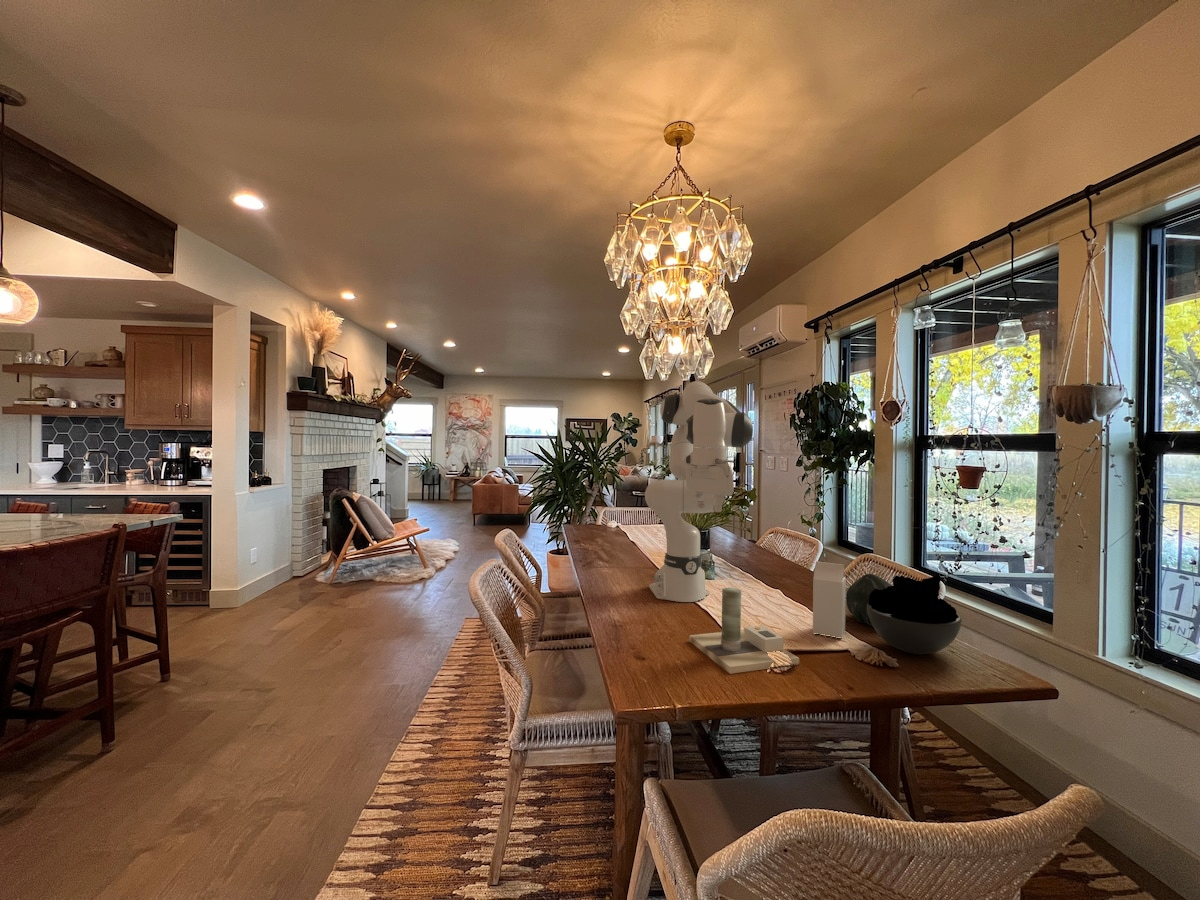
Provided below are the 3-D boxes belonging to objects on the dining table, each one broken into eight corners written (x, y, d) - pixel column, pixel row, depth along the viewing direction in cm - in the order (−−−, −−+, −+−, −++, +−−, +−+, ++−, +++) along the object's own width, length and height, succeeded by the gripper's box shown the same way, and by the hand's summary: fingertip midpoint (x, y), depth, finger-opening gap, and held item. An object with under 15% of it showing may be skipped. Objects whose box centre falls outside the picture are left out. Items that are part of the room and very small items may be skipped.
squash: (901, 597, 156) (866, 559, 157) (923, 615, 142) (884, 572, 143) (862, 626, 159) (828, 588, 160) (880, 647, 144) (842, 604, 145)
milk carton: (841, 640, 136) (842, 567, 136) (812, 634, 140) (813, 563, 140) (845, 631, 142) (845, 562, 142) (817, 627, 146) (817, 559, 146)
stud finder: (744, 638, 132) (744, 626, 132) (761, 636, 134) (761, 624, 134) (765, 652, 124) (765, 638, 124) (783, 650, 125) (783, 636, 125)
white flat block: (689, 641, 135) (689, 634, 135) (750, 634, 140) (750, 628, 140) (730, 673, 116) (730, 666, 116) (799, 664, 121) (799, 657, 121)
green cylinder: (717, 645, 127) (718, 588, 127) (733, 643, 129) (734, 586, 128) (727, 653, 123) (728, 594, 123) (744, 650, 125) (745, 592, 124)
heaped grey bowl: (873, 661, 123) (874, 581, 123) (861, 632, 142) (861, 563, 142) (974, 673, 116) (974, 589, 116) (946, 642, 135) (947, 569, 135)
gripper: (740, 459, 133) (739, 514, 133) (701, 457, 152) (701, 505, 152) (717, 459, 131) (717, 515, 131) (682, 457, 150) (681, 505, 151)
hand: (708, 509), depth 142 cm, fingers open, 8 cm apart
